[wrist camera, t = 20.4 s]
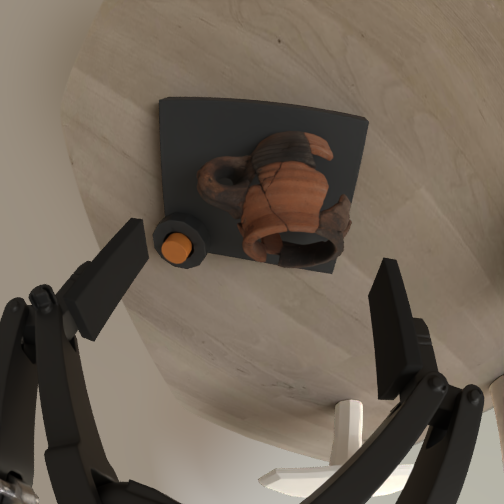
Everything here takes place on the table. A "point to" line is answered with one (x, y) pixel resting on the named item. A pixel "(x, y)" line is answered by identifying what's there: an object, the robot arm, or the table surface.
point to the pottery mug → (279, 199)
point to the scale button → (176, 248)
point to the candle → (499, 408)
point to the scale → (238, 145)
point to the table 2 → (334, 459)
